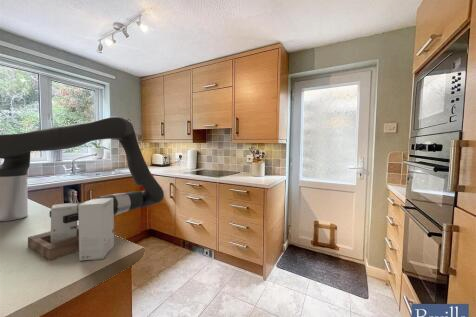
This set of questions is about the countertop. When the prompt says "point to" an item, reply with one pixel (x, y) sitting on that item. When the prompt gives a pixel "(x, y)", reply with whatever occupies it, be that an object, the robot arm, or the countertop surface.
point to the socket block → (53, 245)
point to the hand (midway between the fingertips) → (56, 217)
